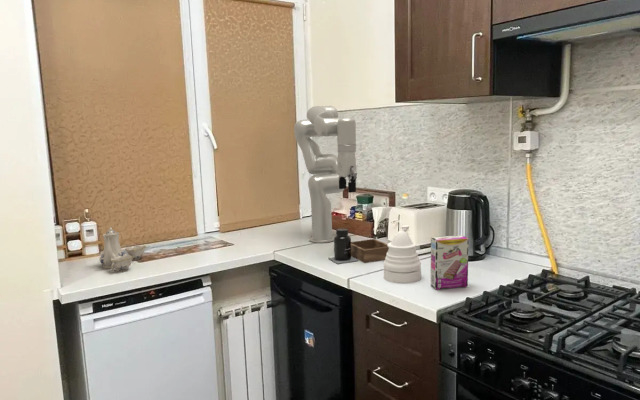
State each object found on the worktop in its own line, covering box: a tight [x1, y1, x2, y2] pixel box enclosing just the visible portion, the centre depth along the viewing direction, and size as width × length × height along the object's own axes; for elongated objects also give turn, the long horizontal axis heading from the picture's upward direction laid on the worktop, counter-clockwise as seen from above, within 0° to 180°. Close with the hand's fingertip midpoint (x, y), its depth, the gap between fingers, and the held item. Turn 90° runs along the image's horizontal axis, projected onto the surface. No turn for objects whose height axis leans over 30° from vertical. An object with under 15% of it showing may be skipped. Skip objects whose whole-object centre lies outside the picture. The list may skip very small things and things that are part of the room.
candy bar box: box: [430, 235, 470, 290], centre depth 157 cm, size 11×5×16 cm, turn 99°
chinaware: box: [99, 226, 147, 272], centre depth 201 cm, size 28×17×17 cm, turn 9°
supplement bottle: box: [333, 228, 352, 261], centre depth 195 cm, size 7×7×12 cm
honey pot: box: [383, 224, 422, 284], centre depth 169 cm, size 13×13×18 cm
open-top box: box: [351, 238, 389, 264], centre depth 200 cm, size 16×13×5 cm
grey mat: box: [328, 256, 359, 265], centre depth 196 cm, size 9×9×1 cm
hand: (347, 190), depth 202 cm, fingers open, 9 cm apart
